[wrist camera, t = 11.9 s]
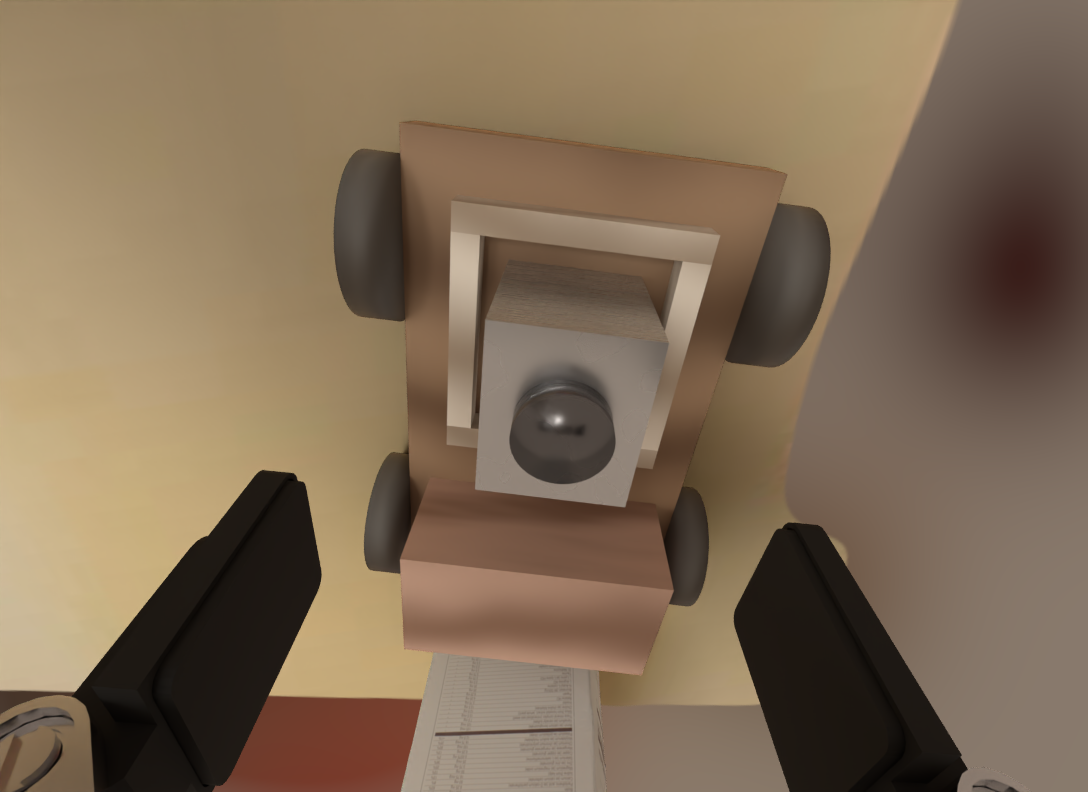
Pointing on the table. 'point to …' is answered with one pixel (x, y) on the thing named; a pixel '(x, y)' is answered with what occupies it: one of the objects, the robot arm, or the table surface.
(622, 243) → the chassis
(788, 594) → the robot arm
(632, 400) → the block with dome knob
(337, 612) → the table surface
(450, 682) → the supplement box
